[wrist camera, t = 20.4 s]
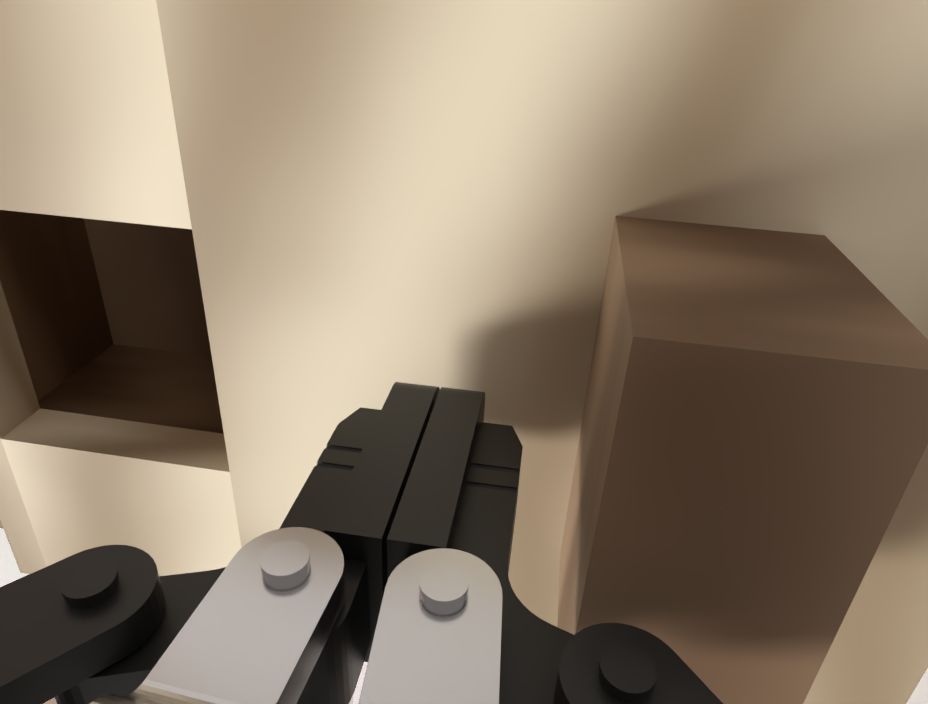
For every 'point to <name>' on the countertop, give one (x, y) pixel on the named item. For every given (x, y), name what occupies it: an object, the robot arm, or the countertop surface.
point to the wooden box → (110, 318)
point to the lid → (522, 294)
